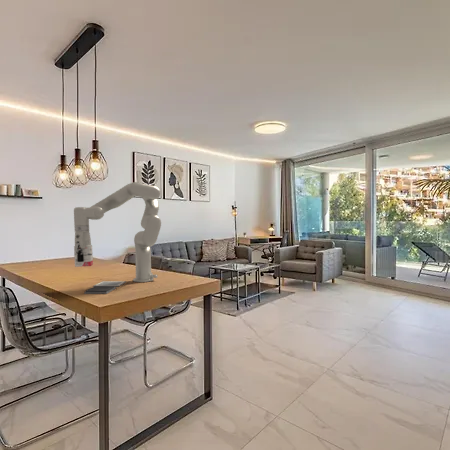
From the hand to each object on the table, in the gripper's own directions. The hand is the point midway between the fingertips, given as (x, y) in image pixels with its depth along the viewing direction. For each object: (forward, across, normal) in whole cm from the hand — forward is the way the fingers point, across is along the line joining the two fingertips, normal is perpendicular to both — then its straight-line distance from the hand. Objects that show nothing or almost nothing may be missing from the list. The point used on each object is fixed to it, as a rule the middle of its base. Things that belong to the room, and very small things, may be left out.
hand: (83, 260), depth 170 cm
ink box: (+3, 0, 0) cm, 3 cm away
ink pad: (+16, -7, -12) cm, 21 cm away
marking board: (+16, +11, -10) cm, 22 cm away
